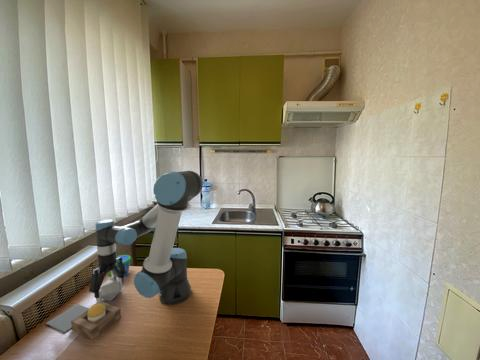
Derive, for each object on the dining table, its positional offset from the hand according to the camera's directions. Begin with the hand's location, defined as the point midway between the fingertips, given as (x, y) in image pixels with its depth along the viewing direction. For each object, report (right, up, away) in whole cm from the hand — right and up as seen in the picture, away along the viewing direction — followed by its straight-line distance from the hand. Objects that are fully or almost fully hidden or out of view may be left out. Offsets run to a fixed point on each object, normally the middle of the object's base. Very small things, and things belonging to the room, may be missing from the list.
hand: (110, 296), depth 101 cm
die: (0, -1, 0) cm, 1 cm away
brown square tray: (+4, -3, -15) cm, 16 cm away
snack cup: (-6, +1, +19) cm, 20 cm away
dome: (+4, -2, -16) cm, 16 cm away
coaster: (-8, -2, -13) cm, 15 cm away
